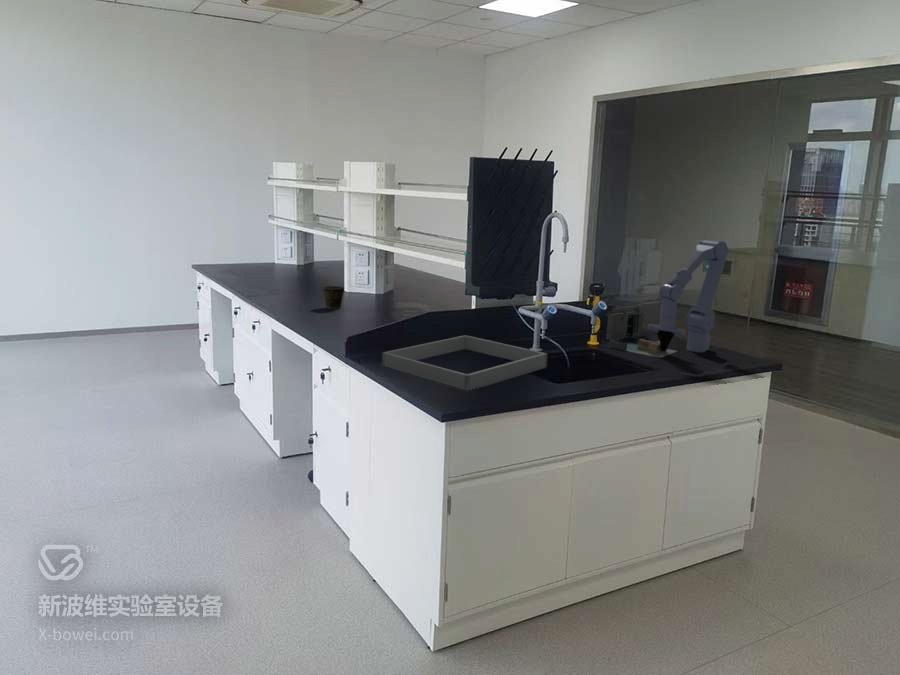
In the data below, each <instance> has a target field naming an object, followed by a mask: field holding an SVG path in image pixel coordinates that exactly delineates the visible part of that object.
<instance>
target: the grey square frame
mask: <svg viewBox="0 0 900 675" xmlns="http://www.w3.org/2000/svg"><path fill="white" fill-rule="evenodd" d="M461 350H462V351H463V350H468V351H472V352H476V353H479V354H484V355H488V356H492V357H498V358H500V359H501V358H502V359H506V360H510V361H511V362H506V363H503V364H499V365H496V366H492V367H489V368H484V369H482V370H478V371H473V372H471V373H470V372H469V373H463V372H459V371H457V370H452V369H449V368H445V367H441V366H438V365H434V364H431V363H427V362H423V361H420V360H423V359H428V358H432V357H437V356H441V355H446V354H449V353H453V352H458V351H461ZM382 366H385V367H389V368H392V369H395V370H398V371H401V372H405V373H409V374H412V375H415V376H419V377H422V378H426V379H429V380H433V381H436V382H439V383H443V384H446V385H450V386H453V387H456V388H459V389H463V390H466V391H467V392H469V391H468V390H471V391H473V390H472V389H474V390H476V389H475V388H477V389H480V388H479V387H481V388H484V387H487V386H489V385H493V384H496V383H500V382H503V381H506V380H510V379H512V378H516V377H519V376H520V377H521V376H524V375H527V374H529V373H533V372H536V371H539V370H543V369H546V368H547V366H548V353H546V352H542V351H537V350H534V349H529V348H524V347H520V346H516V345H511V344H507V343H506V344H505V343H502V342H497V341H493V340H489V339H484V338H479V337H476V336H471V335H467V334H466V335H465V334H464V335H460V336H455V337H451V338H446V339H442V340H441V339H440V340H436V341H435V340H434V341H432V342H430V341H429V342H425V343H421V344H418V345H417V344H416V345H412V346H409V347H408V346H407V347H403V348H397V349H394V350H393V349H392V350H389V351H383V352H381V367H382ZM401 372H400V373H401ZM415 376H414V377H415ZM439 383H438V384H439ZM483 386H484V387H483ZM456 388H455V389H456ZM459 389H458V390H459ZM463 390H462V391H463ZM466 391H465V392H466Z"/></svg>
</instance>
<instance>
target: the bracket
mask: <svg viewBox="0 0 900 675" xmlns="http://www.w3.org/2000/svg"><path fill="white" fill-rule="evenodd" d="M640 339H643V338H641V337H636V336H625V337H621V338H618V339H614V340H611V341H610V340H608V346H607V348H610V347H611V349H615V348H616V349H615V350H619V349H621V350H620V351H624V350H627V344H625V343H628V342H629V343H634V344H638V340H640Z"/></svg>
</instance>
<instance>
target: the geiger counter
mask: <svg viewBox="0 0 900 675" xmlns="http://www.w3.org/2000/svg"><path fill="white" fill-rule="evenodd" d="M611 310H612V311H609V312H606V314H605V316H606V317H607V325H606V335H605V336H606V337H605V340H606V341H611V340H614V339H618V338H621V337H625V336H632V337H637V338H641V337H642V334H643V331H646V329H647V327H648V324H647V321H646V320H645V318H644V317H645V312H644V311H643V310H644V305H643V304H642V303H641V304H635V305H628V306H620V307H619V306H618V307H613V308H612V309H611ZM644 323H645V327H643V326H644Z"/></svg>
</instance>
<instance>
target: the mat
mask: <svg viewBox="0 0 900 675" xmlns="http://www.w3.org/2000/svg"><path fill="white" fill-rule="evenodd" d="M625 344H627V350H623V351H625V352H631V353H635V354H640V355H646V356H649V357H655V358H663V357H666V356H668V355H671V354H673V353H677V352H678V350H673V349H669V348H667V351H664V352H661V353H658V354H651V353H648V351H645V350H641V349H637V345H638V344H634V343H629V342H628V343H625ZM610 348H611V347H609V349H610ZM611 349H612V348H611ZM614 349H615V350H617V349H616V348H614ZM618 350H620V351H622V350H621V349H618Z"/></svg>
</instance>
